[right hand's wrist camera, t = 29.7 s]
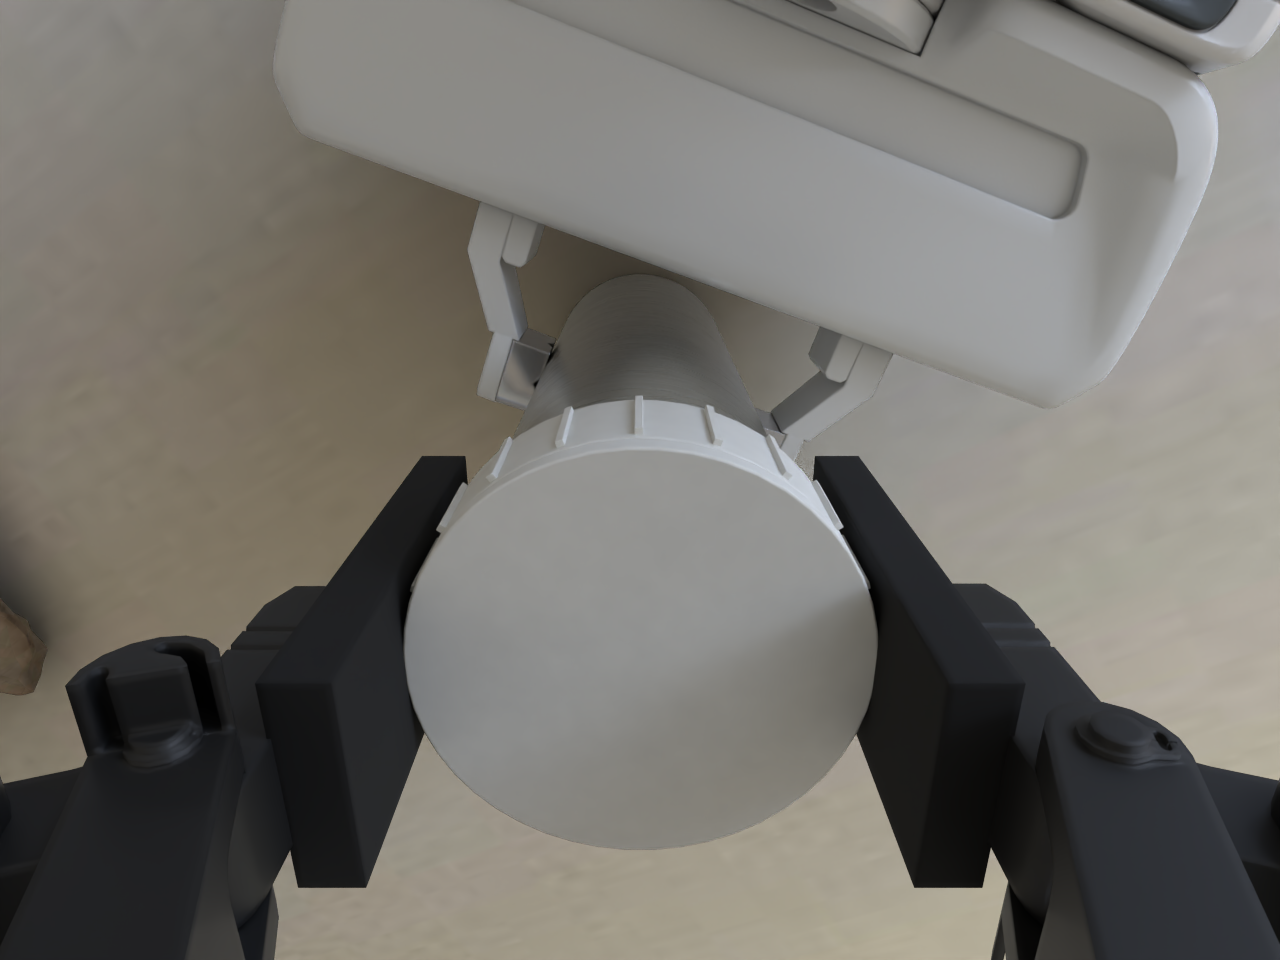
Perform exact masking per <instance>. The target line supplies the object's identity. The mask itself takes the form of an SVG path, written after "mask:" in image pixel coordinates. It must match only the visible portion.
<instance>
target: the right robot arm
mask: <svg viewBox="0 0 1280 960" xmlns="http://www.w3.org/2000/svg"><path fill="white" fill-rule="evenodd" d="M815 480H817V481H818V482H819V484H820V486H821V487H822V489H823V491H824V493H825V495H826V496H827V498H828V500H829V502H830V504H831V505H832V507H833V509H834V511H835V513H836V514H837V516H838V518H839V520H840V522H841V523H842V525H843V528H841V529H840V530H839V531H840V533H841V535H844V536H845V538H846V540H847V542H848V544H849V546H850V547H851V549H852V551H853V553H854V555H855V557H856V559H857V560H858V562H859V564H860V566H861V568H862V570H863V571H864V573H865V575H866V577H867V579H868V581H869V583H870V587H871V588H870V589H868V590H869V593H870V596H871V599H872V602H873V605H874V611H875V617H876V622H877V628H878V649H877V659H876V666H875V674H874V682H873V689H872V695H871V699H870V702H869V706H868V709H867V712H866V714H865V716H864V718H863V720H862V722H861V725H860V727H859V729H858V731H857V733H856V734H857V737H858V739H859V742H860V745H861V747H862V750H863V753H864V755H865V758H866V761H867V763H868V766H869V769H870V771H871V774H872V777H873V779H874V782H875V784H876V787H877V790H878V792H879V795H880V798H881V800H882V803H883V806H884V808H885V811H886V814H887V816H888V819H889V822H890V824H891V827H892V830H893V832H894V835H895V838H896V840H897V843H898V846H899V848H900V851H901V854H902V856H903V859H904V862H905V864H906V867H907V870H908V872H909V875H910V877H911V880H912V883H913V885H914V888H982V887H983V882H984V877H985V873H986V868H987V863H988V859H989V854H990V849H991V848H992V850H993V852H994V854H995V856H996V858H997V860H998V862H999V864H1000V866H1001V868H1002V870H1003V872H1004V874H1005V875H1006V877H1007V879H1008V885H1007V889H1006V893H1005V898H1004V902H1003V907H1002V911H1001V915H1000V920H999V924H998V928H997V933H996V937H995V942H994V946H993V951H992V957H991V960H1003V959H1004V955H1005V953H1006V960H1280V779H1279V781H1278V780H1273V779H1268V778H1263V777H1258V776H1254V775H1249V774H1244V773H1239V772H1234V771H1229V770H1224V769H1220V768H1215V767H1210V766H1206V765H1203V764H1199V763H1196V762H1195V760H1194V757H1193V755H1192V754H1191V753H1190V751H1189V750H1188V749H1187V748H1186V746H1185V745H1184V744H1183V742H1182V741H1181V740H1180V738H1179V737H1177V736H1176V735H1174V734H1173V733H1172V732H1170V731H1169V730H1168V729H1166V728H1165V727H1164V726H1162V725H1161V724H1159V723H1158V722H1156V721H1154V720H1152V719H1150V718H1148V717H1146V716H1143V715H1141V714H1139V713H1137V712H1135V711H1133V710H1130V709H1127V708H1123V707H1119V706H1115V705H1112V704H1108V703H1104V702H1100V700H1099V699H1098V698H1097V697H1096V696H1095V695H1094V693H1093V692H1092V691H1091V690H1090V689H1089V687H1088V686H1087V685H1086V684H1085V683H1084V682H1083V680H1082V679H1081V678H1080V677H1079V676H1078V675H1077V673H1076V672H1075V671H1074V670H1073V669H1072V667H1071V666H1070V665H1069V664H1068V663H1067V662H1066V660H1065V659H1064V658H1063V657H1062V656H1061V654H1060V653H1059V652H1058V651H1057V650H1056V649H1055V647H1050V642H1049V640H1048V639H1047V638H1046V637H1045V636H1044V634H1043V633H1042V632H1041V631H1040V630H1039V629H1035V624H1034V623H1033V622H1032V620H1031V619H1030V618H1029V617H1028V616H1027V614H1026V613H1025V612H1024V611H1023V610H1022V609H1021V607H1020V606H1019V605H1018V604H1017V603H1016V602H1015V601H1013V600H1012V599H1010V598H1008V597H1007V596H1005V595H1003V594H1002V593H1000V592H998V591H997V590H995V589H994V588H992V587H990V586H989V585H987V584H952V583H951V581H950V580H949V578H948V577H947V576H946V574H945V573H944V572H943V570H942V569H941V568H940V566H939V565H938V564H937V562H936V561H935V559H934V558H933V557H932V555H931V554H930V553H929V551H928V550H927V549H926V547H925V546H924V545H923V543H922V542H921V540H920V539H919V538H918V536H917V535H916V534H915V532H914V531H913V530H912V528H911V527H910V525H909V524H908V523H907V521H906V520H905V519H904V517H903V516H902V515H901V513H900V512H899V511H898V509H897V508H896V506H895V505H894V504H893V502H892V501H891V500H890V498H889V497H888V496H887V494H886V493H885V492H884V490H883V489H882V487H881V486H880V485H879V483H878V482H877V481H876V479H875V478H874V477H873V475H872V474H871V473H870V471H869V470H868V468H867V467H866V466H865V464H864V463H863V462H862V460H861V459H860V458H859V456H815V463H814V475H813V481H815ZM463 482H464V483H465V484H467V485H468V481H467V470H466V458H465V456H422V457H421V458H420V460H419V461H418V462H417V464H416V465H415V466H414V468H413V469H412V470H411V472H410V473H409V475H408V476H407V477H406V479H405V480H404V481H403V483H402V484H401V485H400V487H399V488H398V489H397V491H396V492H395V494H394V495H393V496H392V498H391V499H390V500H389V502H388V503H387V504H386V506H385V507H384V508H383V510H382V511H381V513H380V514H379V515H378V517H377V518H376V519H375V521H374V522H373V523H372V525H371V526H370V528H369V529H368V530H367V532H366V533H365V534H364V536H363V537H362V538H361V540H360V541H359V542H358V544H357V545H356V547H355V548H354V549H353V551H352V552H351V553H350V555H349V556H348V557H347V559H346V560H345V561H344V563H343V564H342V566H341V567H340V568H339V570H338V571H337V572H336V574H335V575H334V576H333V578H332V579H331V580H330V582H329V583H328V585H327V586H295V587H293V588H292V589H290V590H288V591H287V592H285V593H283V594H282V595H280V596H279V597H277V598H275V599H274V600H272V601H271V602H269V603H267V604H266V605H264V607H263V608H262V609H261V610H260V611H259V612H258V614H257V615H256V616H255V617H254V618H253V620H252V621H251V622H250V623H249V624H248V626H247V627H246V631H242V633H241V634H240V635H239V636H238V637H237V639H236V640H235V641H234V642H233V643H232V645H231V650H226V652H225V653H224V654H223V655H222V656H221V657H220V652H219V648H218V647H216V646H215V645H214V644H212V643H211V642H209V641H208V640H207V639H202V638H196V637H191V636H171V637H159V638H154V639H150V640H146V641H141V642H137V643H133V644H130V645H127V646H125V647H122V648H120V649H117V650H115V651H112V652H110V653H107V654H105V655H103V656H101V657H99V658H98V659H96V660H95V661H93V662H92V663H90V664H88V665H87V666H85V667H84V668H82V669H80V670H79V671H78V672H77V674H76V675H75V676H74V677H73V678H72V679H71V680H70V681H69V682H68V684H67V685H66V686H65V687H66V690H67V693H68V696H69V700H70V703H71V706H72V709H73V712H74V715H75V718H76V722H77V725H78V728H79V731H80V734H81V737H82V740H83V744H84V747H85V750H86V753H87V756H88V757H87V759H86V761H85V763H84V765H83V767H80V768H76V769H72V770H68V771H63V772H58V773H54V774H49V775H44V776H39V777H34V778H29V779H25V780H20V781H15V782H10V783H5V784H3V782H2V780H1V777H0V960H274V955H275V946H276V937H277V928H278V919H279V916H278V909H277V903H276V898H275V893H274V889H273V883H274V881H275V879H276V877H277V875H278V873H279V871H280V869H281V867H282V865H283V863H284V861H285V859H286V857H287V855H288V853H289V851H290V852H291V856H292V861H293V866H294V870H295V875H296V880H297V884H298V888H366V887H367V884H368V881H369V879H370V876H371V873H372V871H373V868H374V865H375V863H376V860H377V857H378V855H379V852H380V849H381V847H382V844H383V842H384V839H385V836H386V834H387V831H388V828H389V826H390V823H391V820H392V818H393V815H394V812H395V810H396V807H397V804H398V802H399V799H400V796H401V794H402V791H403V788H404V786H405V783H406V780H407V778H408V775H409V772H410V770H411V767H412V764H413V762H414V759H415V756H416V754H417V751H418V748H419V746H420V743H421V741H422V738H423V735H424V733H425V732H424V730H423V728H422V726H421V724H420V721H419V719H418V717H417V715H416V712H415V710H414V708H413V704H412V701H411V697H410V694H409V690H408V685H407V677H406V669H405V661H404V653H403V636H404V625H405V619H406V614H407V609H408V604H409V600H410V597H411V595H412V592H410V588H411V585H412V583H413V581H414V579H415V577H416V576H417V574H418V572H419V570H420V568H421V566H422V564H423V563H424V561H425V559H426V557H427V555H428V553H429V551H430V550H431V548H432V546H433V544H434V542H435V540H436V538H439V536H440V534H441V533H440V532H438V531H437V530H436V529H437V527H438V525H439V524H440V522H441V520H442V518H443V516H444V514H445V513H446V511H447V509H448V507H449V505H450V504H451V502H452V500H453V498H454V496H455V495H456V493H457V491H458V489H459V487H460V486H461V484H462V483H463Z"/></svg>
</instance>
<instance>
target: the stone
mask: <svg viewBox="0 0 1280 960" xmlns="http://www.w3.org/2000/svg"><path fill="white" fill-rule="evenodd" d="M47 651H48V649H47V647H46V646H45V644H44V643H43V642H42V641H41V640H40V639H39V638H38V637H37V636H36V635H35V633H34V632H33V631H32V630H31V629H30V626H29V623H28V620H27V619H25V618H23V617H21V616H19V615H17V614H15V613H13V612H12V611H11V609H10V608H9V607H8V606H7V605H6V604H5V603H4V602H3V601H2V600H1V599H0V693H1V692H2V693H7V694H13V695H24V694H28V693H32V692H34V690H35V687H36V685H37V683H38V680H39V678H40V676H41V671H42V666H43V661H44V658H45V656H46V653H47Z"/></svg>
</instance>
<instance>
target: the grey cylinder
mask: <svg viewBox="0 0 1280 960" xmlns="http://www.w3.org/2000/svg"><path fill="white" fill-rule="evenodd" d="M635 396H643V400H659V401H666V402H674V403H681V404H687V405H691V406H695V407H698V408H702V409H705V406H706V405H709V406H712V407H713V408H714V411H715V412H716V413H718V414H721V415H723V416H725V417H728V418H730V419H733V420H735V421H738V422H740V423H742V424H743V425H745V426H747V427H749V428H750V429H752V430H754V431H755V432H757V433H759V434H761V435H762V436H764V437H765V438H766V437H767V434H766V432H765V430H764V428H763V425H762V423H761V421H760V419H759V417H758V415H757V412H756V410H755V408H754V406H753V404H752V402H751V399H750V397H749V395H748V393H747V391H746V389H745V386H744V384H743V382H742V380H741V378H740V376H739V373H738V371H737V369H736V367H735V365H734V363H733V360H732V358H731V356H730V354H729V352H728V350H727V347H726V345H725V343H724V341H723V339H722V337H721V335H720V332H719V330H718V328H717V326H716V324H715V322H714V320H713V318H712V316H711V314H710V312H709V311H708V309H707V308H706V307H705V305H704V304H703V303H702V302H701V301H700V300H699V299H698V298H697V297H696V296H695V295H694V294H693V293H692V292H691V291H689V290H688V289H687V288H685V287H684V286H682V285H680V284H678V283H677V282H674V281H672V280H669V279H667V278H663V277H659V276H656V275H647V274H633V275H626V276H621V277H617V278H614V279H611V280H609V281H607V282H604V283H602V284H600V285H599V286H597V287H596V288H594V289H592V290H591V291H590V292H589V293H588V294H586V295H585V296H584V297H583V298H582V299H581V300H580V301H579V302H578V303H577V305H576V306H575V307H574V309H573V310H572V312H571V313H570V315H569V317H568V319H567V321H566V323H565V325H564V327H563V329H562V332H561V334H560V336H559V338H558V340H557V342H556V345H555V347H554V349H553V351H552V354H551V356H550V359H549V361H548V363H547V365H546V367H545V369H544V371H543V373H542V375H541V377H540V379H539V382H538V384H537V386H536V388H535V390H534V393H533V395H532V397H531V399H530V401H529V403H528V406H527V408H526V410H525V412H524V414H523V417H522V419H521V421H520V423H519V425H518V427H517V430H516V432H515V434H514V436H513V438H512V440H514V439H515V438H516V437H518V436H519V435H520V434H522V433H524V432H526V431H528V430H529V429H531V428H533V427H535V426H536V425H538V424H540V423H542V422H544V421H546V420H548V419H551V418H553V417H556V416H558V415H561V414H563V412H564V409H565V408H567V407H570V406H572V408H573V410H575V409H579V408H583V407H587V406H591V405H595V404H599V403H607V402H616V401H624V400H635Z"/></svg>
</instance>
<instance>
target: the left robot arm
mask: <svg viewBox="0 0 1280 960" xmlns="http://www.w3.org/2000/svg"><path fill="white" fill-rule="evenodd" d="M1279 24H1280V0H286V1H285V6H284V10H283V14H282V18H281V23H280V27H279V31H278V35H277V40H276V46H275V51H274V56H273V68H272V69H273V76H274V80H275V83H276V86H277V88H278V90H279V92H280V95H281V97H282V99H283V101H284V104H285V106H286V108H287V110H288V113H289V115H290V117H291V119H292V121H293V123H294V125H295V127H296V129H297V130H298V131H299V132H300V133H301V134H303V135H304V136H306V137H308V138H310V139H313V140H316V141H318V142H321V143H323V144H326V145H329V146H332V147H334V148H337V149H340V150H342V151H345V152H348V153H351V154H353V155H356V156H359V157H361V158H364V159H367V160H370V161H372V162H375V163H378V164H380V165H383V166H386V167H389V168H391V169H394V170H397V171H399V172H402V173H405V174H408V175H410V176H413V177H416V178H418V179H421V180H424V181H427V182H429V183H432V184H435V185H437V186H440V187H443V188H446V189H448V190H451V191H454V192H456V193H459V194H462V195H465V196H467V197H470V198H473V199H475V200H478V201H480V203H479V207H478V211H477V215H476V218H475V222H474V226H473V229H472V233H471V237H470V241H469V244H468V248H467V251H468V255H469V259H470V263H471V266H472V270H473V274H474V278H475V282H476V285H477V289H478V293H479V297H480V301H481V304H482V308H483V312H484V316H485V319H486V323H487V327H488V331H491V332H493V336H492V339H491V342H490V346H489V349H488V353H487V356H486V360H485V363H484V367H483V370H482V374H481V377H480V380H479V384H478V388H477V395H478V396H481V397H483V398H486V399H488V400H491V401H493V402H495V401H496V402H499V403H502V404H505V405H508V406H511V407H514V408H517V409H520V410H524V411H525V410H526V408H527V406H528V403H529V401H530V399H531V397H532V395H533V393H534V390H535V388H536V386H537V384H538V382H539V379H540V377H541V375H542V373H543V371H544V369H545V367H546V365H547V363H548V361H549V359H550V356H551V354H552V351H553V348H554V345H555V342H556V338H554V337H551V336H548V335H546V334H543V333H540V332H538V331H535V330H532V329H530V328H527V327H528V323H527V319H526V314H525V309H524V305H523V300H522V295H521V291H520V286H519V281H518V277H517V272H516V267H515V266H517V267H522V266H523V265H525V264H526V263H527V262H529V261H530V260H531V259H532V258H533V257H534V256H535V255H536V253H537V250H538V247H539V243H540V240H541V237H542V234H543V230H544V227H545V225H546V226H549V227H552V228H554V229H557V230H560V231H562V232H565V233H568V234H571V235H573V236H576V237H579V238H581V239H584V240H587V241H590V242H592V243H595V244H598V245H600V246H603V247H606V248H609V249H611V250H614V251H617V252H619V253H622V254H625V255H628V256H630V257H633V258H636V259H638V260H641V261H644V262H647V263H649V264H652V265H655V266H657V267H660V268H663V269H666V270H668V271H671V272H674V273H676V274H679V275H682V276H685V277H687V278H690V279H693V280H695V281H698V282H701V283H704V284H706V285H709V286H712V287H714V288H717V289H720V290H723V291H725V292H728V293H731V294H733V295H736V296H739V297H742V298H744V299H747V300H750V301H752V302H755V303H758V304H761V305H763V306H766V307H769V308H771V309H774V310H777V311H780V312H782V313H785V314H788V315H790V316H793V317H796V318H799V319H801V320H804V321H807V322H809V323H812V324H815V325H818V326H820V328H819V330H818V333H817V335H816V337H815V340H814V342H813V344H812V347H811V349H810V352H809V357H810V359H811V360H812V361H813V363H814V364H815V365H816V366H817V367H818V368H819V369H820V372H818V373H817V374H816V375H815V376H813V377H812V378H811V379H810V380H809V381H807V382H806V383H805V384H804V385H802V386H801V387H800V388H799V389H798V390H796V391H795V392H794V393H793V394H791V395H790V396H789V397H788V398H786V399H785V400H784V401H783V402H782V403H780V404H779V405H778V406H777V407H775V408H774V409H773V410H772V411H771V413H769V412H766V411H763V410H760V409H757V408H755V410H756V412H757V415H758V417H759V419H760V421H761V423H762V425H763V428H764V430H765V432H766V434H767V436H768V435H771V436H772V437H774V438H775V440H776V442H777V444H778V446H779V448H780V449H781V450H782V451H783V452H785V453H786V454H787V455H788V456H789V457H790V458H791V459H792V460H793V461H795V459H796V457H797V455H798V452H799V450H800V448H801V446H802V444H803V442H804V441H807V442H809V441H811V440H812V439H813V438H815V437H816V436H818V435H819V434H820V433H822V432H823V431H825V430H826V429H827V428H829V427H830V426H832V425H833V424H834V423H836V422H837V421H839V420H840V419H841V418H843V417H844V416H846V415H847V414H848V413H850V412H851V411H853V410H854V409H855V408H857V407H858V406H860V405H861V404H862V403H864V402H865V401H867V400H868V399H869V398H871V397H872V396H873V394H874V392H875V390H876V388H877V386H878V384H879V382H880V380H881V378H882V376H883V374H884V372H885V370H886V368H887V366H888V364H889V361H890V359H891V357H892V355H893V353H894V354H896V355H899V356H902V357H905V358H907V359H910V360H913V361H915V362H918V363H921V364H924V365H926V366H929V367H932V368H934V369H937V370H940V371H943V372H945V373H948V374H951V375H953V376H956V377H959V378H962V379H964V380H967V381H970V382H972V383H975V384H978V385H981V386H983V387H986V388H989V389H991V390H994V391H997V392H1000V393H1002V394H1005V395H1008V396H1010V397H1013V398H1016V399H1019V400H1021V401H1024V402H1027V403H1030V404H1032V405H1035V406H1038V407H1041V408H1045V409H1053V408H1056V407H1058V406H1060V405H1062V404H1064V403H1066V402H1068V401H1070V400H1072V399H1074V398H1076V397H1078V396H1079V395H1081V394H1083V393H1085V392H1086V391H1088V390H1090V389H1091V388H1093V387H1095V386H1097V385H1098V384H1099V383H1100V382H1102V381H1103V380H1104V379H1105V378H1106V376H1107V375H1108V374H1109V373H1110V371H1111V370H1112V369H1113V368H1114V366H1115V365H1116V363H1117V361H1118V360H1119V358H1120V357H1121V355H1122V354H1123V352H1124V350H1125V349H1126V347H1127V346H1128V344H1129V342H1130V340H1131V339H1132V337H1133V335H1134V333H1135V332H1136V330H1137V328H1138V326H1139V325H1140V323H1141V321H1142V319H1143V318H1144V316H1145V314H1146V312H1147V310H1148V308H1149V307H1150V305H1151V303H1152V301H1153V299H1154V297H1155V295H1156V293H1157V292H1158V290H1159V288H1160V286H1161V284H1162V282H1163V280H1164V278H1165V276H1166V274H1167V272H1168V270H1169V268H1170V266H1171V264H1172V262H1173V260H1174V258H1175V256H1176V254H1177V252H1178V250H1179V249H1180V246H1181V244H1182V242H1183V240H1184V238H1185V236H1186V233H1187V231H1188V229H1189V227H1190V225H1191V223H1192V221H1193V218H1194V216H1195V214H1196V211H1197V209H1198V207H1199V205H1200V202H1201V200H1202V198H1203V195H1204V193H1205V190H1206V187H1207V185H1208V182H1209V179H1210V176H1211V172H1212V169H1213V165H1214V162H1215V157H1216V152H1217V144H1218V118H1217V113H1216V109H1215V105H1214V102H1213V100H1212V97H1211V95H1210V93H1209V91H1208V90H1207V88H1206V86H1205V85H1204V83H1203V82H1202V81H1201V80H1200V79H1199V78H1198V76H1197V75H1200V74H1205V73H1208V72H1212V71H1215V70H1219V69H1222V68H1226V67H1230V66H1233V65H1236V64H1240V63H1242V62H1245V61H1247V60H1248V59H1250V58H1251V57H1253V56H1254V55H1255V54H1257V53H1258V52H1259V51H1260V50H1261V49H1262V48H1263V46H1264V45H1265V44H1266V43H1267V42H1268V40H1269V39H1270V37H1271V36H1272V35H1273V33H1274V32H1275V30H1276V29H1277V27H1278V26H1279Z"/></svg>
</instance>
